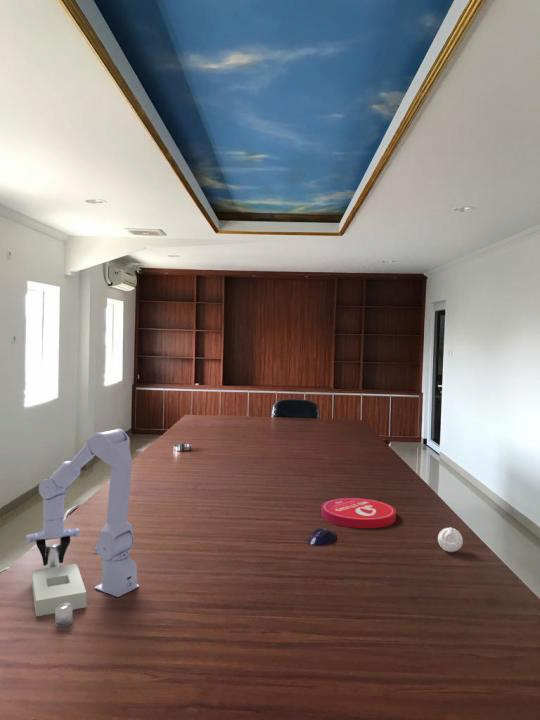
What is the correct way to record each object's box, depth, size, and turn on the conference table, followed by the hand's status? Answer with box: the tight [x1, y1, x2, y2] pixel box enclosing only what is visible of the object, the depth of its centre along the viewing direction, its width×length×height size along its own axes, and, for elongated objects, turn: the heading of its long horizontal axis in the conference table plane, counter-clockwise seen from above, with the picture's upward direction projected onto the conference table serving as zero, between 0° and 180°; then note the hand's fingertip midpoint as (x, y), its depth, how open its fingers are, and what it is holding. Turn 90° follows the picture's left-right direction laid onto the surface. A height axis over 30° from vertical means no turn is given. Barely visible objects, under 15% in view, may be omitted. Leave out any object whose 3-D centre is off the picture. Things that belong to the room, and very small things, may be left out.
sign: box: [320, 497, 397, 529], centre depth 222 cm, size 30×4×30 cm
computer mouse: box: [307, 527, 338, 547], centre depth 195 cm, size 9×15×4 cm, turn 139°
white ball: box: [437, 527, 464, 553], centre depth 185 cm, size 8×8×8 cm
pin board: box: [31, 563, 87, 617], centre depth 147 cm, size 20×12×4 cm, turn 26°
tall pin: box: [45, 543, 61, 568], centre depth 162 cm, size 4×4×8 cm
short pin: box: [54, 603, 74, 628], centre depth 133 cm, size 4×4×4 cm
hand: (53, 563), depth 162 cm, fingers closed on tall pin, 4 cm apart
